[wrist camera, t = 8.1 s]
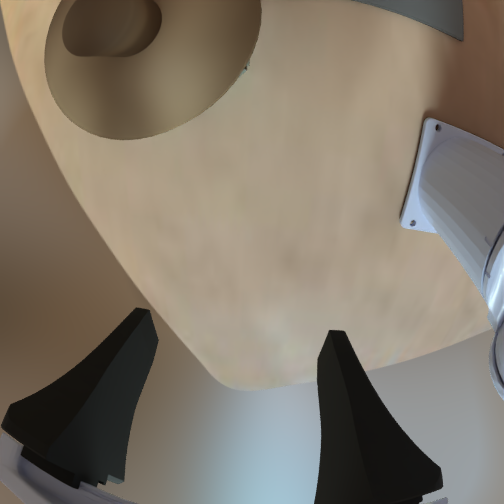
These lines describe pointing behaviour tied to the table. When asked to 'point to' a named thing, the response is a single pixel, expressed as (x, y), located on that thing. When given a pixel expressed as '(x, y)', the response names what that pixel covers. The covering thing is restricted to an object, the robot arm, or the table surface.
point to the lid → (146, 61)
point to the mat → (428, 13)
